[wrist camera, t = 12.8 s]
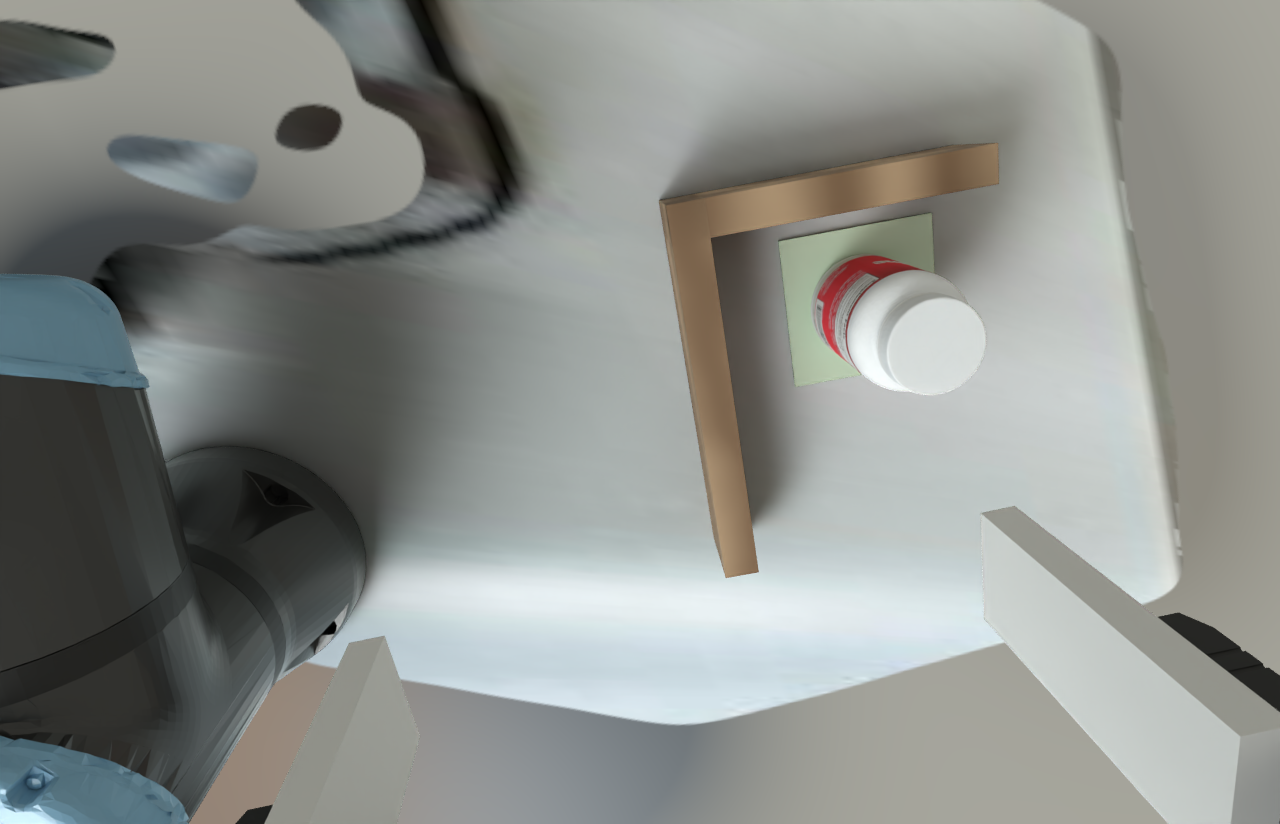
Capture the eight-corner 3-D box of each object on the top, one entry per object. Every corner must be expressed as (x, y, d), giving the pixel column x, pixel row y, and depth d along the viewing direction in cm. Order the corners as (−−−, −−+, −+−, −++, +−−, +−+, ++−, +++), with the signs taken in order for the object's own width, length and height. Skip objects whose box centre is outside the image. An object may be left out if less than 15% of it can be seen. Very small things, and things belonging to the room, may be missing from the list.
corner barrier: (714, 537, 49) (726, 578, 44) (658, 200, 42) (665, 205, 37) (966, 492, 49) (1005, 527, 44) (953, 145, 42) (998, 142, 37)
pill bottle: (930, 293, 44) (1031, 333, 34) (862, 373, 46) (940, 435, 35) (853, 230, 43) (934, 253, 33) (786, 315, 44) (843, 362, 34)
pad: (794, 386, 46) (795, 387, 46) (778, 240, 43) (778, 241, 43) (937, 359, 46) (938, 360, 46) (930, 212, 43) (931, 212, 43)
